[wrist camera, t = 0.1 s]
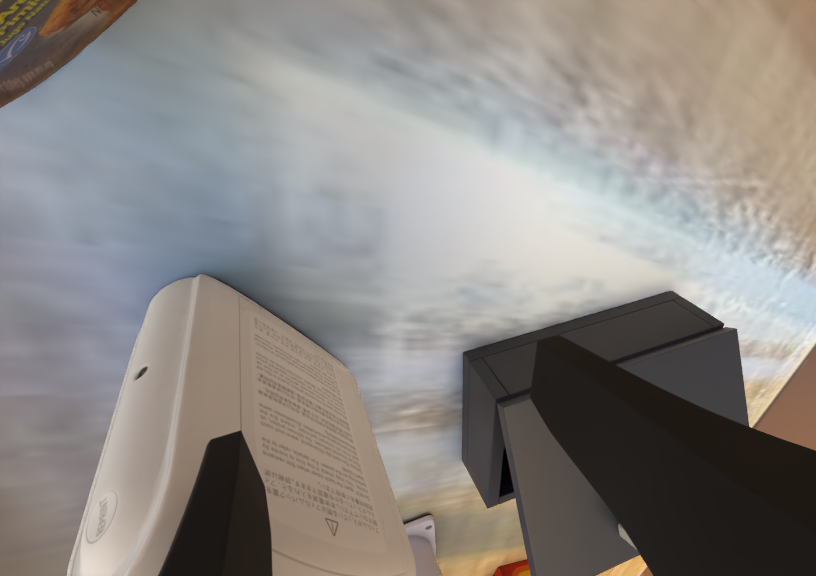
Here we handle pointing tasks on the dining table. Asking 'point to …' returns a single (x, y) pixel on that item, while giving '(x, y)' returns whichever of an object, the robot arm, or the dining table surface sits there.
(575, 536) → the cover
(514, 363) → the flip case
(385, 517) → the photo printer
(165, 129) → the dining table surface
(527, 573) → the baking soda box
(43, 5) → the tin
